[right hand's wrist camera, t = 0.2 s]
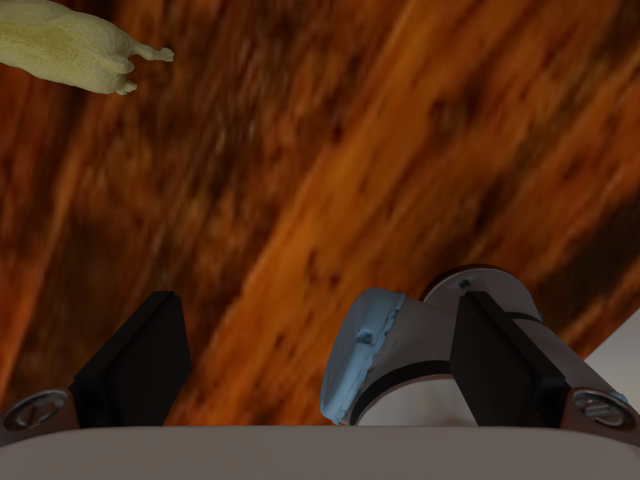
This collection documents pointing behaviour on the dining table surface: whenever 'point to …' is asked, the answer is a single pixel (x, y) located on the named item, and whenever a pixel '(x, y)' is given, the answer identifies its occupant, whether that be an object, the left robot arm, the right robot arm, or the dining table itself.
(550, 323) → the dining table surface
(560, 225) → the dining table surface
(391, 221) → the dining table surface
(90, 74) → the toy
